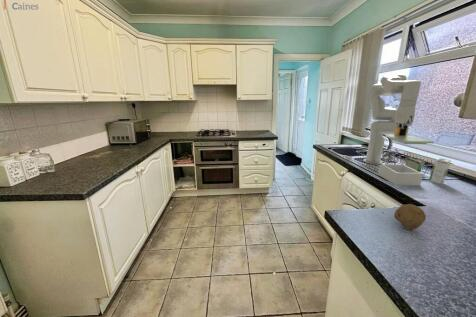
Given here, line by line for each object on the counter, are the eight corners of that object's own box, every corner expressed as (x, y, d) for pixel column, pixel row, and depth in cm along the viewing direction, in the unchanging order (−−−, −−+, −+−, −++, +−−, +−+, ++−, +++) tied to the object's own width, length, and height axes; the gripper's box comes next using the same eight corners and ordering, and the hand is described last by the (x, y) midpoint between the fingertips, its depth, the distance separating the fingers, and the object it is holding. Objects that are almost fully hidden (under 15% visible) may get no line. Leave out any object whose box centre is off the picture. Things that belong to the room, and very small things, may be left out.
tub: (378, 175, 135) (380, 164, 133) (401, 176, 134) (403, 164, 132) (393, 186, 120) (396, 173, 117) (419, 186, 119) (423, 173, 116)
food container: (426, 177, 133) (430, 162, 130) (416, 177, 133) (420, 162, 130) (411, 170, 145) (415, 156, 142) (402, 170, 145) (405, 156, 142)
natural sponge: (390, 228, 82) (396, 205, 79) (393, 218, 88) (398, 197, 85) (420, 238, 76) (428, 214, 73) (421, 227, 82) (428, 204, 80)
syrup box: (431, 180, 128) (437, 157, 124) (444, 183, 123) (451, 159, 119) (428, 182, 125) (434, 159, 121) (441, 185, 120) (448, 161, 116)
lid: (384, 138, 128) (386, 127, 126) (410, 138, 127) (413, 127, 125) (403, 144, 112) (406, 131, 110) (432, 145, 111) (436, 132, 109)
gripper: (392, 102, 128) (386, 132, 133) (410, 103, 113) (402, 137, 118) (405, 102, 127) (398, 132, 133) (425, 104, 112) (416, 137, 117)
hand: (400, 134), depth 125 cm, fingers closed on lid
